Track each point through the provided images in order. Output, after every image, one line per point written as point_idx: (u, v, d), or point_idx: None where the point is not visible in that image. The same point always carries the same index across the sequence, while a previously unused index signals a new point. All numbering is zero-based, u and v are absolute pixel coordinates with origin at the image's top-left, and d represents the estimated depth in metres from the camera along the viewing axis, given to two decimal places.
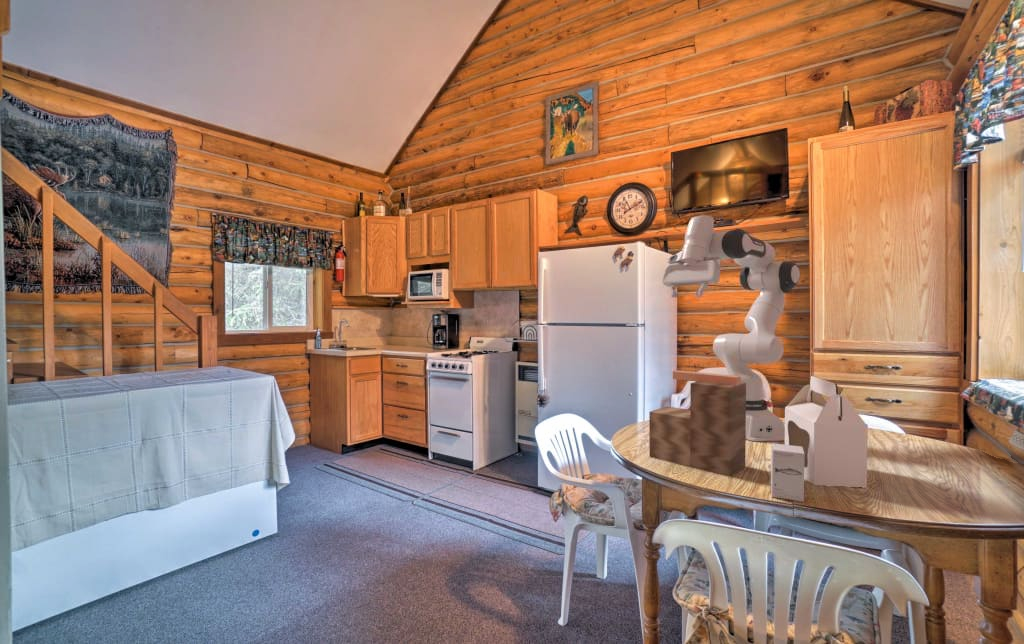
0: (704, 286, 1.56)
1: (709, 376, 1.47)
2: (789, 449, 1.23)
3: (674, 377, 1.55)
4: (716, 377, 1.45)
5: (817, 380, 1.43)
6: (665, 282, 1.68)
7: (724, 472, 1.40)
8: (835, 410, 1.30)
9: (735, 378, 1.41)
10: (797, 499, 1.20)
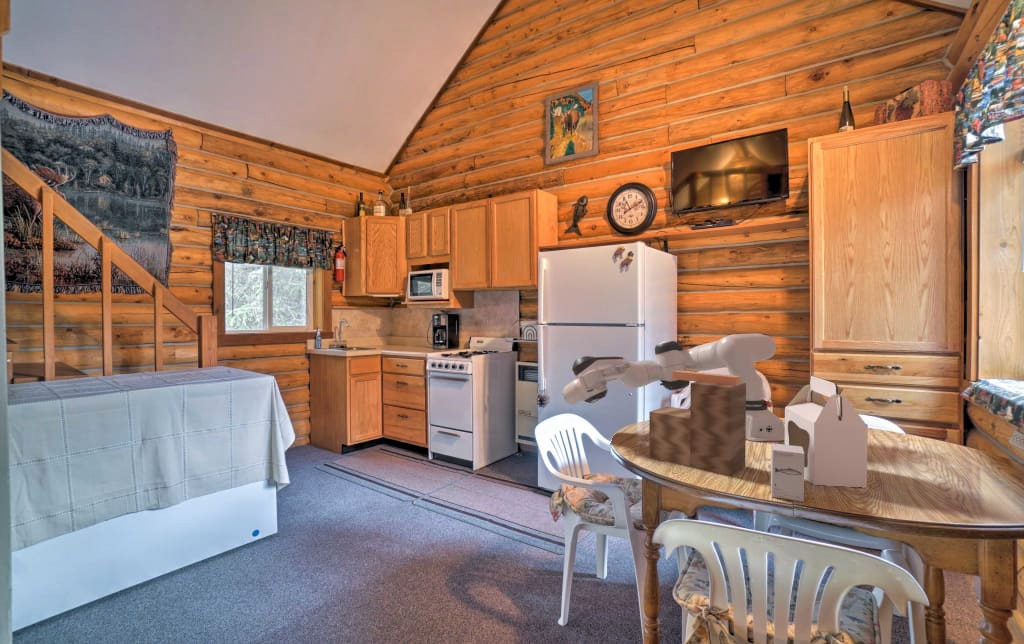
0: None
1: (709, 376, 1.47)
2: (789, 449, 1.23)
3: (674, 377, 1.55)
4: (716, 377, 1.45)
5: (817, 380, 1.43)
6: (596, 369, 1.71)
7: (724, 472, 1.40)
8: (835, 410, 1.30)
9: (735, 378, 1.41)
10: (797, 499, 1.20)
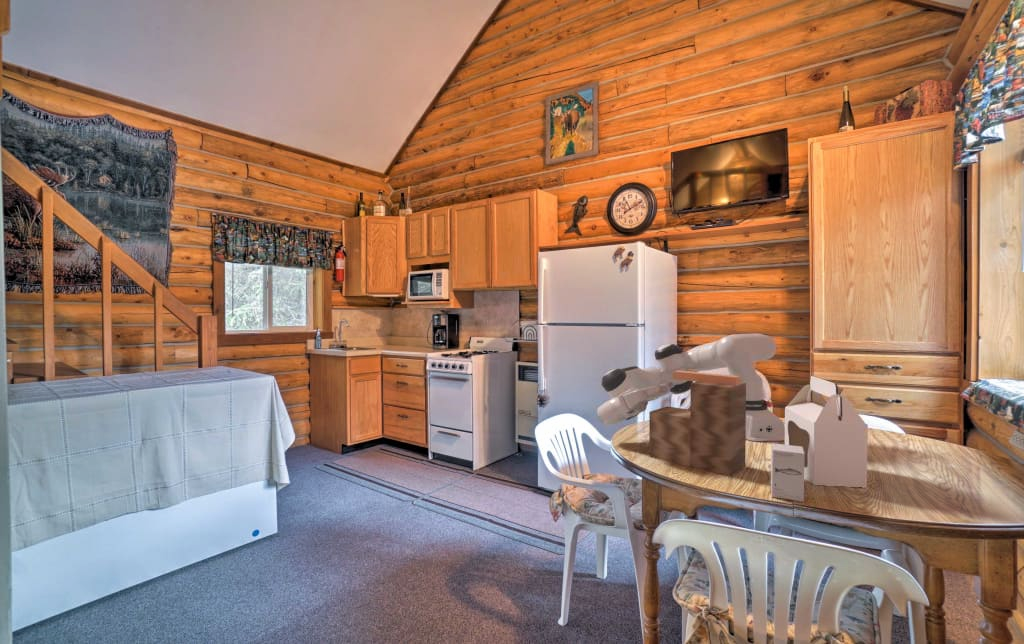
0: None
1: (709, 376, 1.47)
2: (789, 449, 1.23)
3: (674, 377, 1.55)
4: (716, 377, 1.45)
5: (817, 380, 1.43)
6: (639, 389, 1.56)
7: (724, 472, 1.40)
8: (835, 410, 1.30)
9: (735, 378, 1.41)
10: (797, 499, 1.20)
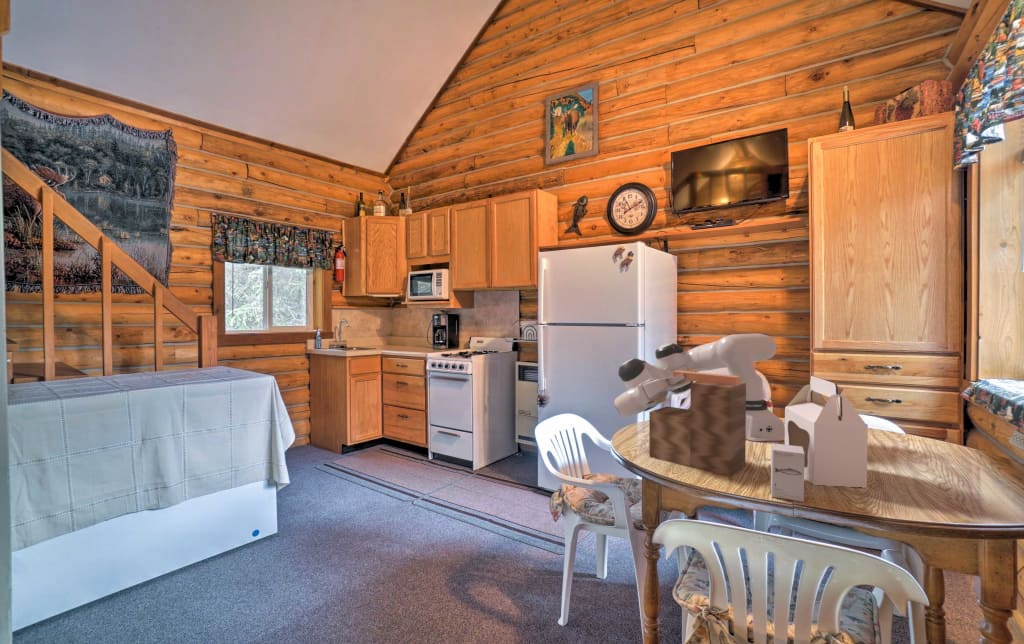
0: None
1: (709, 376, 1.47)
2: (789, 449, 1.23)
3: None
4: (716, 377, 1.45)
5: (817, 380, 1.43)
6: (660, 378, 1.51)
7: (724, 472, 1.40)
8: (835, 410, 1.30)
9: (735, 378, 1.41)
10: (797, 499, 1.20)
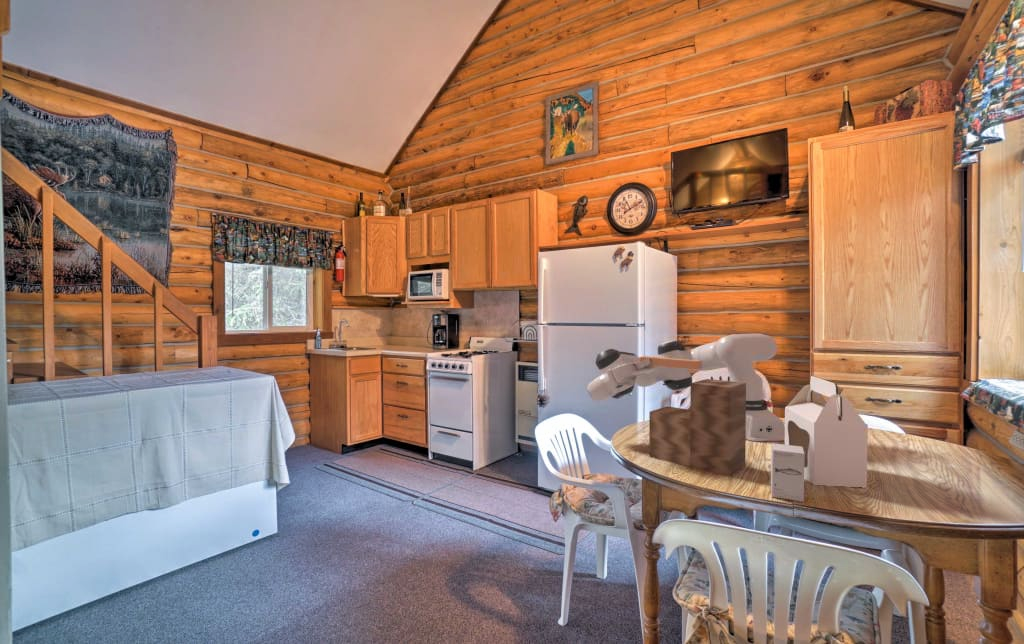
0: None
1: (672, 361, 1.55)
2: (789, 449, 1.23)
3: None
4: (679, 361, 1.53)
5: (817, 380, 1.43)
6: (627, 363, 1.60)
7: (724, 472, 1.40)
8: (835, 410, 1.30)
9: (696, 362, 1.49)
10: (797, 499, 1.20)
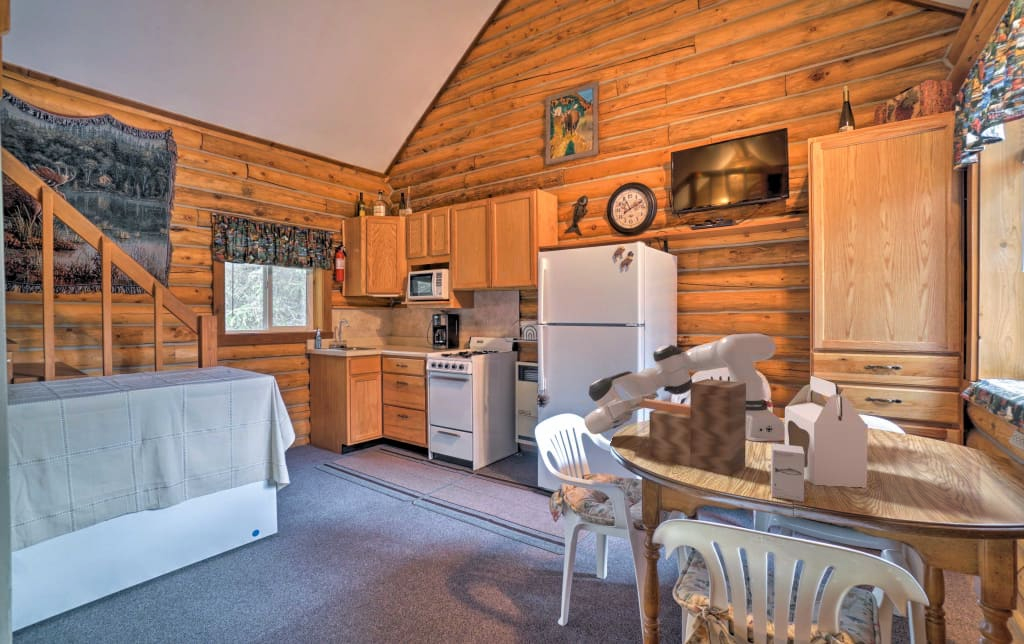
0: None
1: (668, 405, 1.57)
2: (789, 449, 1.23)
3: None
4: (674, 406, 1.55)
5: (817, 380, 1.43)
6: (623, 400, 1.61)
7: (724, 472, 1.40)
8: (835, 410, 1.30)
9: None
10: (797, 499, 1.20)
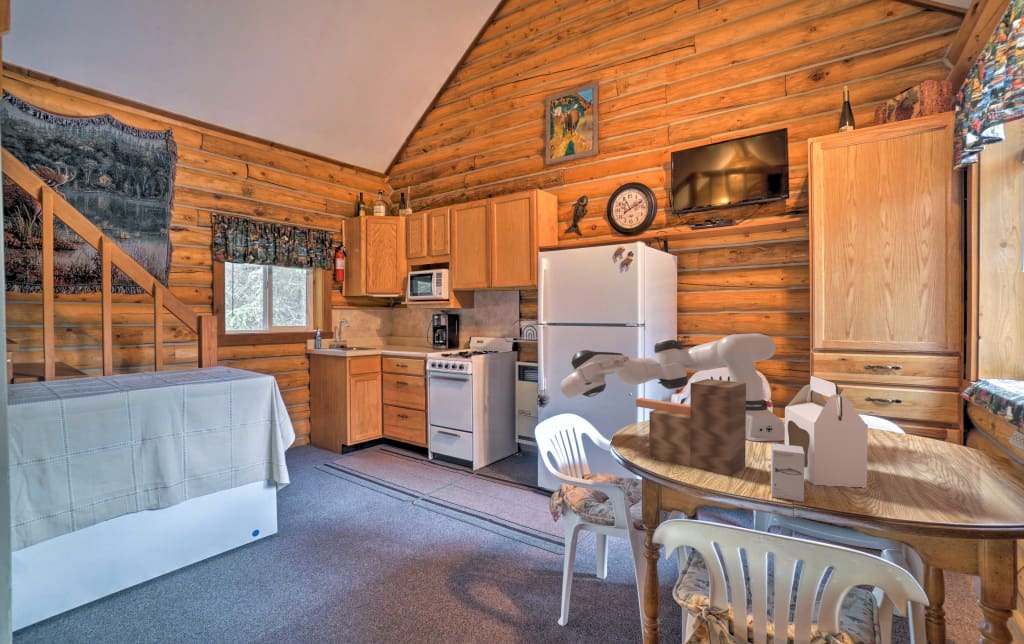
0: None
1: (668, 405, 1.57)
2: (789, 449, 1.23)
3: (637, 405, 1.65)
4: (674, 406, 1.55)
5: (817, 380, 1.43)
6: (595, 362, 1.70)
7: (724, 472, 1.40)
8: (835, 410, 1.30)
9: None
10: (797, 499, 1.20)
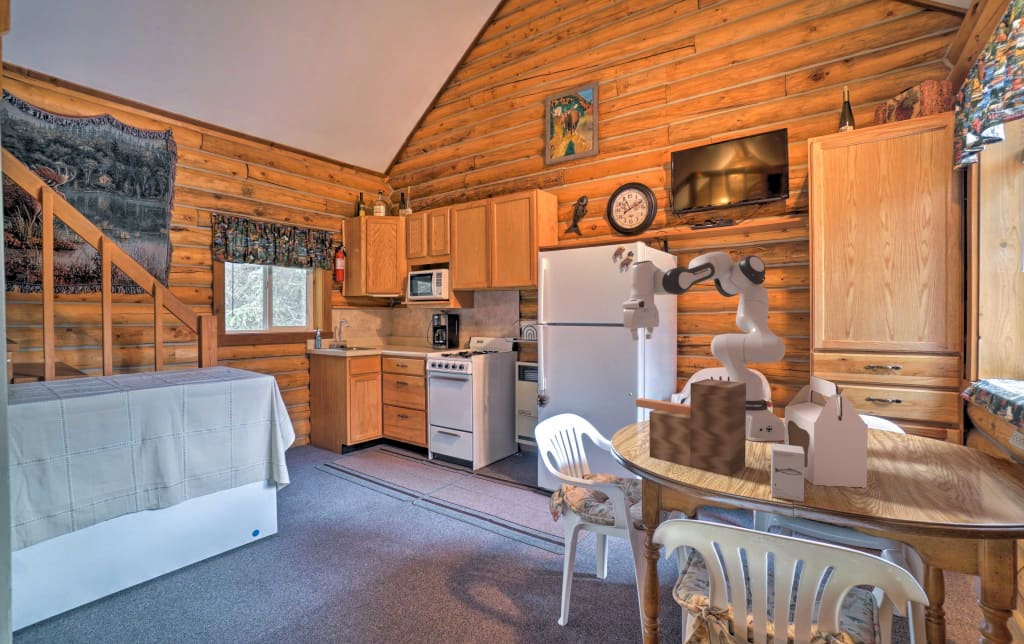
0: None
1: (668, 405, 1.57)
2: (789, 449, 1.23)
3: (637, 405, 1.65)
4: (674, 406, 1.55)
5: (817, 380, 1.43)
6: (634, 327, 1.74)
7: (724, 472, 1.40)
8: (835, 410, 1.30)
9: None
10: (797, 499, 1.20)
